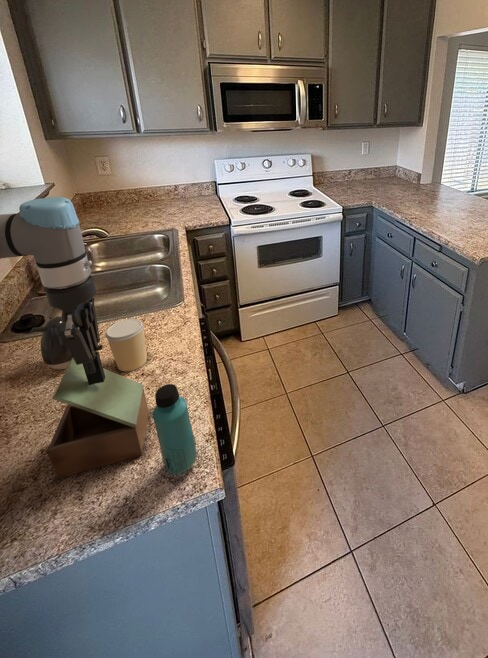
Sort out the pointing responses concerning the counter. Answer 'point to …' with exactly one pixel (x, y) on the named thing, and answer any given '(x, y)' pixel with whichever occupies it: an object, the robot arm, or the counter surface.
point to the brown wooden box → (95, 440)
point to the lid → (101, 394)
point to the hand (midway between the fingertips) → (97, 380)
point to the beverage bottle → (174, 430)
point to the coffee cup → (127, 344)
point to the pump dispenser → (54, 344)
